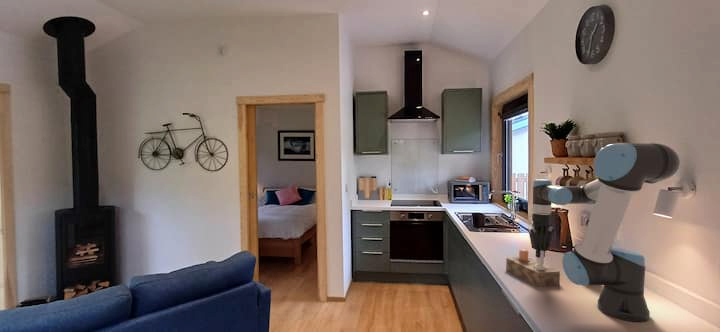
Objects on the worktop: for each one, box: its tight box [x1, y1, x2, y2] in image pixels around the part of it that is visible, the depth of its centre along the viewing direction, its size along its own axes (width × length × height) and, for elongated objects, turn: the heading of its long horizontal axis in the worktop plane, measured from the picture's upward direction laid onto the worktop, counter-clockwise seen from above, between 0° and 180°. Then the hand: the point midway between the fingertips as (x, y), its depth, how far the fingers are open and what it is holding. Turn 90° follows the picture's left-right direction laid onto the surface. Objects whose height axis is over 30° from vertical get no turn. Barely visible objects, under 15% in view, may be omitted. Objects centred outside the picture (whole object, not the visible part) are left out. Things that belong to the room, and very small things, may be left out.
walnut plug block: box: [505, 256, 561, 287], centre depth 159 cm, size 22×11×6 cm, turn 13°
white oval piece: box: [535, 264, 546, 270], centre depth 153 cm, size 4×4×6 cm
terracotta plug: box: [518, 248, 529, 262], centre depth 164 cm, size 4×4×6 cm
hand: (540, 264), depth 153 cm, fingers closed
